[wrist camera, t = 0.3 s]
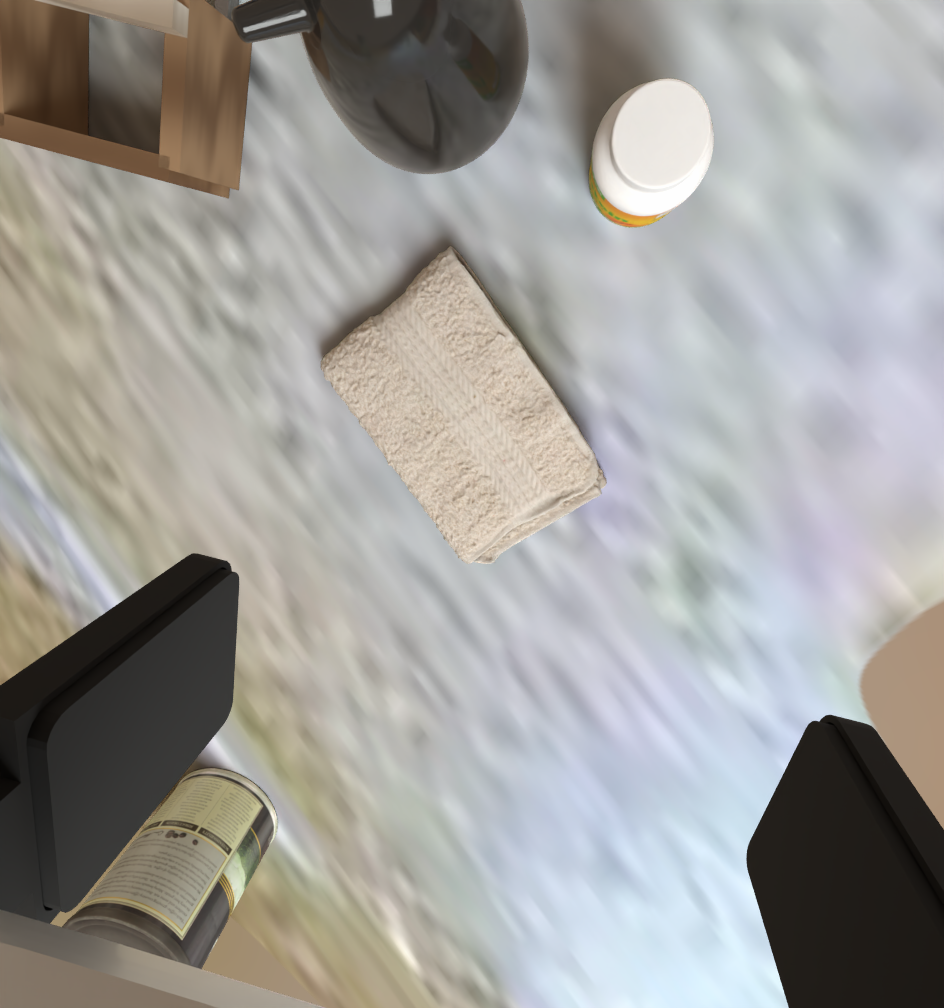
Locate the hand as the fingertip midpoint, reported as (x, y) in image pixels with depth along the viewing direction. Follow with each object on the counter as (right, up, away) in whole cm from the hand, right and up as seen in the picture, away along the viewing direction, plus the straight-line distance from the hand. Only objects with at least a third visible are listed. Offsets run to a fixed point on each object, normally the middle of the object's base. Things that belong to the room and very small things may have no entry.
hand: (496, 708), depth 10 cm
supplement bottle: (+9, +22, +24) cm, 34 cm away
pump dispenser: (-2, +27, +24) cm, 36 cm away
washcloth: (-1, +9, +31) cm, 32 cm away
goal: (-19, +28, +26) cm, 43 cm away
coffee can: (-23, -25, +46) cm, 58 cm away
